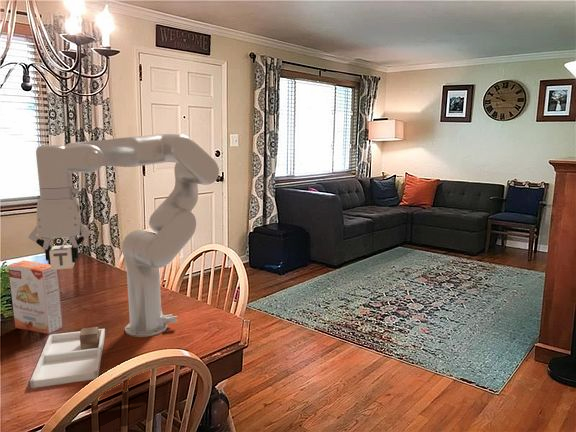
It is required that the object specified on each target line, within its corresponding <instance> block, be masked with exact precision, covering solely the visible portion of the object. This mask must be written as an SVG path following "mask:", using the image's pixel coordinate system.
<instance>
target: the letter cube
mask: <svg viewBox="0 0 576 432" xmlns="http://www.w3.org/2000/svg"><path fill="white" fill-rule="evenodd" d="M51 247H52V249H51V250H50V251H49V253H50V263H51V264H50V265H51V270H57V271H58V270H67V269H73V268H74V265H75V263H73V262H72V252H71V248H72V244H67V245H54V246H51Z"/></svg>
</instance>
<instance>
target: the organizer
mask: <svg viewBox="0 0 576 432" xmlns="http://www.w3.org/2000/svg"><path fill="white" fill-rule="evenodd" d="M98 329H99V346H98V348H94V349H86V350H81V346H80V332H81V330H80V331H70V332H62V333H61V332H60V333H54V334H52V333H51V334H48V338H47V341H46V342H45V345H44V347H43V350H42V351H41V354H40V357H39V359H38V361H37V364H36V366H35V369H34V371H33V374H32V376H31V378H30V380H29V385H30V389H37V388H44V387H51V386H57V385H65V384H71V383H77V382H85V381H86V382H87V381H92V380H96V379H95V378H96V377H98V378H99V374H100V368H101V361H102V355H103V350H104V343H105V336H106V329H105V328H98Z"/></svg>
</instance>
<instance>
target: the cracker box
mask: <svg viewBox="0 0 576 432" xmlns="http://www.w3.org/2000/svg"><path fill="white" fill-rule="evenodd" d="M7 271H8V276H9V284H10V293H11V300H12V310H13V311H12V312H13V319H14V325H15V326H14V327H15V329H19V330H24V331H26V330H27V331H32V332H36V333H39V334H40V333H42V334H46V335H51V334H52V333H54V332H56V331H58V330H61V329H62V328H64V325H63V323H64V322H63V316H62V314H63V313H62V306H61V305H62V304H61V296H60V295H61V294H60V284H59V274H58V269H57V270H51V264H49V263H48V264H47V263H42V262H36V261H30V260H20V261H17V262H14V263H10V264H8V266H7Z"/></svg>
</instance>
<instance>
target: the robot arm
mask: <svg viewBox="0 0 576 432" xmlns="http://www.w3.org/2000/svg"><path fill="white" fill-rule="evenodd" d="M35 156H36V158H35V159H36V166H37V167H36V168H37V176H38V178H37V179H38V186H39V197H40V198H39V199H37V204H36V205H37V206H36V226H35V227H34V229H33V230H32V231H31V233H30V234H29V235H28V239H29V240H31V241H33V242H34V243H36V244H37V245H38V246H40V247H41V248H42V249H43V250H44V253H45V261H47V262H48V264H49V265H51V263H50V253H49V251H50V250H51V249H52V247H53V246H52V245H51V243H52V242H51V241H52V239H59V238H60V239H61V238H63V239H64V238H65V239H66V238H69V240H70V243H71V245H72V248H71V252H72V262H73V263H74V264H75V263H76V261H77V259H79V258H80V257H79V245H80V244H81V243H83V241H84V240H86V239H87V238H88V237H89V236H91V234H92V232H91V231H90V230H89V228H88V227H86V225H84V224H83V222H82V218H81V212H80V211H81V210H80V206H79V202H78V198H77V197H74V195H79V193H80V190H79V188H74V186H73V180H72V179H73V178H72V173H83V174H84V173H85V174H89V173H95V172H97V171H99V170H100V169H101V168H102V167H119V168H120V167H122V168H135V167H142V166H147V165H148V166H149V165H155V164H162V163H174V164H175V165H174V169H173V170H174V179H175V180H174V181H175V182H174V188H173V190H172V191H171V192H170V194H169V195H168V196H167V197H166V198H165V200H163V202H162V203H160V205H159V206H158V207H157V208H155V210H154V211H153V212H152V214H151V215H150V217H149V220H148V221H149V222H148V224H149V227H150V230H152V231H153V232H152V231H147V230H145V229H143V230H142V229H135V230H133V231H132V230H131V231H130V232H128V234H127V235H126V236H125V237H124V238H123V241H122V246H121V247H122V251H121V252H122V255H123V260H124V264H125V269H126V279H127V281H126V282H127V299H128V312H129V315H128V316H129V322H128V324H127V325H126V326H125V327H124V332H125V333H126V335H128V336H130V337H134V338H135V337H136V338H146V337H152V336H156V335H160V334H161V333H165V331H166V330H168V324H170V323H171V324H172V323H178V316H177V315H175V316H173V314H172V313H171V314H166V315H165V314H163V310H162V296H161V295H162V294H161V274H160V269H162V268H165V267H166V266H167V265H169V264H170V263H171V262H172V261H173V260H174V259H175V258H176V256H177V255H178V254H179V253H180V251H182V249H183V248H184V247H185V246H186V245H187V244H188V243H189V241H190V240H191V238H192V237H193V236H194V234H195V232H196V229H197V219H196V216H195V214H194V213H193V212H192V211H193V209H194V208H195V207H196V205H197V202H198V198H199V187H198V185H203V186H204V185H205V186H206V185H208V186H209V185H211V184H213V183H215V182H216V181H217V180H218V178H219V175H220V168H219V165H218V163H217V162H216V160H215V159H214V158H213V157H212V156H211V155H210V154H208V152H207V151H205V150H204V149H203V148H202V147H201V146H200V145H199V144H198V143H196V141H195V140H193V139H191V138H190V137H189V136H187V135H185V134H181V133H180V134H176V133H175V134H174V133H173V134H172V133H162V134H151V135H149V134H148V135H138V136H128V137H127V136H126V137H119V138H118V137H116V138H110V139H102V140H101V139H100V140H89V141H88V140H87V141H77V142H76V141H75V142H69V143H66V144H65V145H62V144H44V145H40V146H38V147H37V148H36V150H35ZM81 232H82V235H80V234H81ZM79 235H80V236H79ZM77 236H78V237H77Z"/></svg>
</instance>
